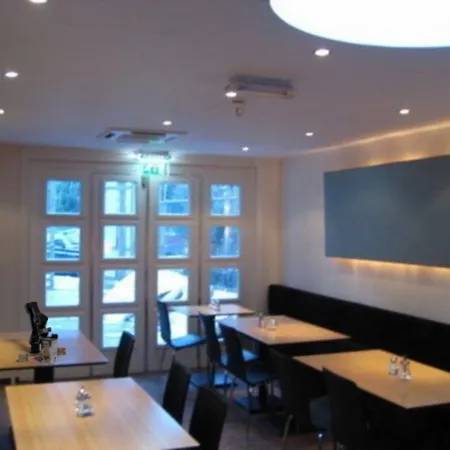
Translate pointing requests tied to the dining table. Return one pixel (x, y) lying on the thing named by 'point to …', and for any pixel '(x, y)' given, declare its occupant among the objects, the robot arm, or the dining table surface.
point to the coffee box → (48, 350)
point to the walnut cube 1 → (22, 357)
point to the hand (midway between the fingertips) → (46, 348)
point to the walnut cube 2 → (61, 351)
